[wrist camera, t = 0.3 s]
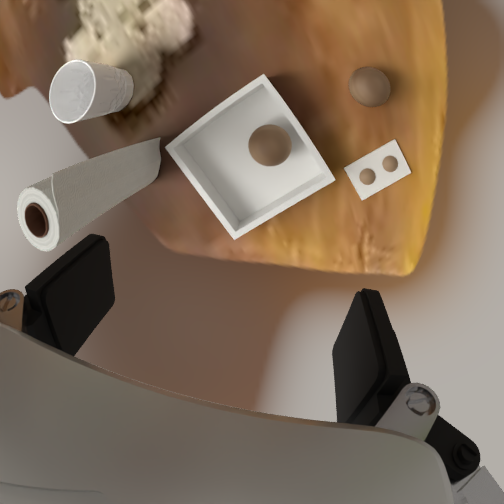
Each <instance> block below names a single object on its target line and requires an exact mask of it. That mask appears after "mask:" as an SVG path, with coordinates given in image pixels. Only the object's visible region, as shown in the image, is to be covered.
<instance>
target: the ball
mask: <svg viewBox="0 0 504 504" xmlns="http://www.w3.org/2000/svg"><path fill="white" fill-rule="evenodd" d="M248 148H249V152H250V154H251V156H252V158H253V159H254V160H255V161H256V162H258V163H259V164H261V165H264V166H277V165H280V164H281V163H283V162H284V161H285V160H286V159H287V158H288V157H289V155H290V153H291V149H292V142H291V139H290V136H289V135H288V133H287V132H286V131H285V130H284V129H283V128H281V127H279V126H277V125H272V124H268V125H263V126H260V127H258V128H257V129H256V130H255V131H254V132H253V133H252V134H251V136H250V138H249V142H248Z"/></svg>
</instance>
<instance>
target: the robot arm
mask: <svg viewBox="0 0 504 504" xmlns="http://www.w3.org/2000/svg"><path fill="white" fill-rule="evenodd" d="M25 289H26V292H27V295H25V296H24V295H23V294H22V292H20V291H19V290H15V289H10V290H6V291H3V292H1V293H0V504H504V492H503V491H502V489H501V488H500V487H499V485H498V484H497V482H496V481H495V480H494V478H493V477H492V476H491V474H490V473H489V472H488V470H487V469H486V467H485V466H482V467H481V468H480V466H479V462H480V453H479V449H478V447H477V446H476V444H475V443H474V442H473V441H472V440H470V439H469V438H468V437H467V436H465V435H464V434H463V433H461V432H460V431H459V430H457V429H456V428H455V427H453V426H452V425H451V424H449V423H448V422H447V421H445V420H444V419H443V418H441V417H440V416H439V415H438V413H439V409H440V402H439V399H438V397H437V395H436V394H435V392H434V391H433V390H432V389H430V388H429V387H428V386H426V385H424V384H420V383H411V381H410V378H409V374H408V371H407V368H406V365H405V361H404V359H403V355H402V352H401V349H400V346H399V343H398V340H397V337H396V334H395V332H394V330H393V328H392V325H391V323H390V320H389V317H388V314H387V311H386V309H385V306H384V303H383V301H382V298H381V296H380V293H379V291H376V290H371V289H365V288H364V289H362V291H361V292H359V291H358V292H357V293H356V294H355V297H354V299H353V302H352V304H351V307H350V309H349V311H348V314H347V316H346V319H345V321H344V323H343V326H342V328H341V330H340V332H339V335H338V337H337V340H336V342H335V344H334V347H333V351H332V356H333V366H334V380H335V393H336V409H337V422H327V421H318V420H309V419H302V418H294V417H287V416H280V415H274V414H267V413H262V412H256V411H250V410H245V409H240V408H235V407H230V406H226V405H221V404H217V403H213V402H208V401H204V400H200V399H196V398H192V397H189V396H185V395H181V394H178V393H174V392H171V391H167V390H164V389H161V388H158V387H154V386H151V385H148V384H145V383H142V382H139V381H136V380H133V379H130V378H127V377H124V376H122V375H119V374H116V373H113V372H111V371H108V370H106V369H103V368H100V367H98V366H95V365H93V364H90V363H88V362H86V361H83V360H81V359H78V358H76V357H74V356H75V354H76V353H77V352H78V350H79V349H80V347H81V346H82V345H83V343H84V342H85V341H86V339H87V338H88V337H89V335H90V334H91V333H92V332H93V330H94V328H96V326H97V325H98V324H99V322H100V321H101V320H102V319H103V317H104V316H105V315H106V314H107V312H108V311H109V309H111V307H112V306H113V304H114V301H115V295H114V287H113V279H112V270H111V261H110V250H109V243H108V241H106V239H105V237H104V236H100V235H96V234H90V235H88V236H87V237H86V238H84V239H83V240H82V241H80V242H79V243H78V244H76V245H75V246H74V247H73V248H71V249H70V250H69V251H67V252H66V253H65V254H64V255H62V256H61V257H60V258H59V259H57V260H56V261H55V262H54V263H52V264H51V265H50V266H49V267H48V268H46V269H45V270H44V271H43V272H42V273H40V274H39V275H38V276H37V277H36V278H35V279H33V280H32V281H31V282H30V283H29V284H28V285H26V286H25Z"/></svg>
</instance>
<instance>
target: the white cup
mask: <svg viewBox="0 0 504 504" xmlns="http://www.w3.org/2000/svg"><path fill="white" fill-rule="evenodd" d="M133 89H134V83H133V79H132V76H131V75H130V74H129V73H128V72H127V71H126V70H123V69H120V68H115V67H114V66H110V65H106V64H102V63H97V62H91V61H85V60H72V61H69V62H67V63H66V64H64V65H63V66H62V67H61V68H60V69H59V70H58V72H57V73H56V75H55V76H54V78H53V81H52V83H51V87H50V92H49V102H50V107H51V110H52V112H53V114H54V116H55V117H56V118H57V119H58V120H59V121H61V122H63V123H74V122H78V121H82V120H85V119H90V118H94V117H98V116H102V115H106V114H108V113H111V112H116V111H120V110H121V109H123V108H124V107H125V106H126V105H127V104H128V103H129V101H130V99H131V98H132V96H133Z"/></svg>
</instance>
